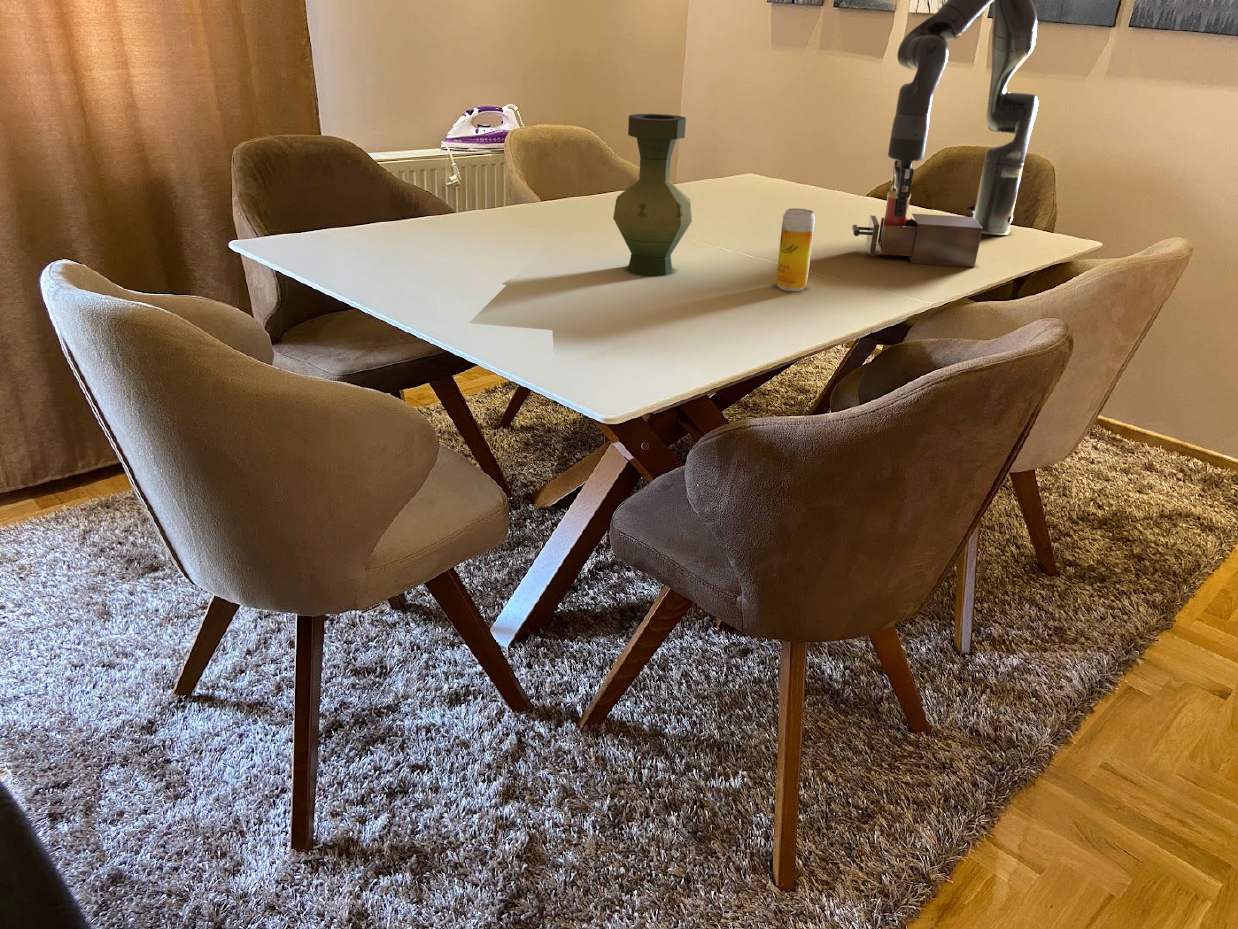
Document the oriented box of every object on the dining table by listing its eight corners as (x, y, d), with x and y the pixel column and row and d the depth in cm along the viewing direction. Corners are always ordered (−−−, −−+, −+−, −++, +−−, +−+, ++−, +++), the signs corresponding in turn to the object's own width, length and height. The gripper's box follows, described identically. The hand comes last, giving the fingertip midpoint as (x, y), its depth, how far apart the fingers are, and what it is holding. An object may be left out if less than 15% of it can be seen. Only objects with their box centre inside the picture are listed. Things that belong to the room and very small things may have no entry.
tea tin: (878, 243, 212) (886, 189, 207) (900, 244, 212) (909, 191, 206) (880, 248, 208) (889, 193, 202) (903, 249, 207) (912, 195, 202)
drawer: (851, 254, 207) (856, 223, 204) (848, 243, 216) (852, 214, 213) (926, 259, 205) (932, 228, 202) (920, 248, 214) (925, 218, 211)
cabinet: (911, 262, 205) (918, 223, 201) (905, 250, 215) (911, 213, 211) (974, 267, 203) (982, 227, 199) (965, 254, 213) (972, 217, 210)
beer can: (772, 283, 186) (780, 207, 179) (801, 283, 186) (810, 208, 180) (779, 291, 180) (788, 214, 174) (809, 292, 181) (819, 214, 174)
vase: (697, 265, 197) (708, 115, 183) (677, 283, 183) (687, 124, 170) (625, 256, 201) (630, 110, 188) (600, 274, 188) (603, 117, 174)
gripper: (931, 140, 192) (917, 220, 199) (922, 132, 205) (909, 207, 212) (894, 138, 193) (882, 218, 200) (887, 131, 206) (876, 205, 213)
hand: (896, 212), depth 206 cm, fingers open, 7 cm apart
